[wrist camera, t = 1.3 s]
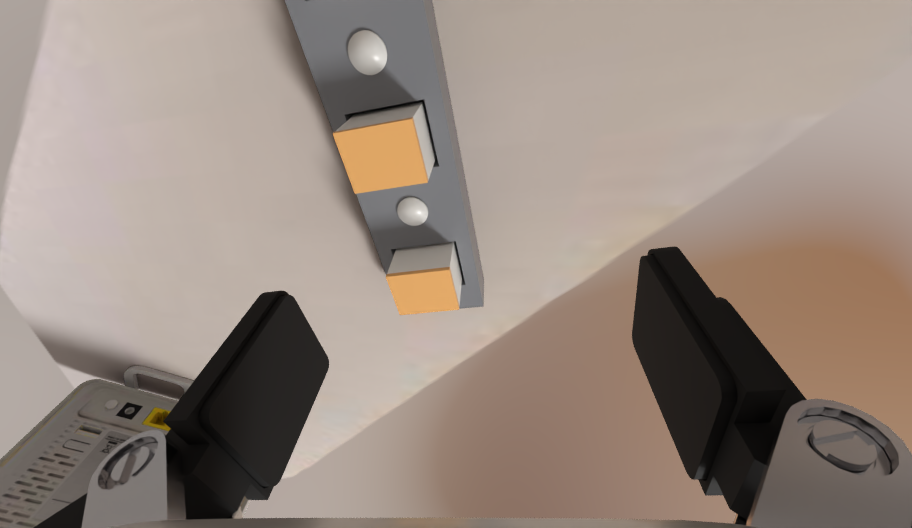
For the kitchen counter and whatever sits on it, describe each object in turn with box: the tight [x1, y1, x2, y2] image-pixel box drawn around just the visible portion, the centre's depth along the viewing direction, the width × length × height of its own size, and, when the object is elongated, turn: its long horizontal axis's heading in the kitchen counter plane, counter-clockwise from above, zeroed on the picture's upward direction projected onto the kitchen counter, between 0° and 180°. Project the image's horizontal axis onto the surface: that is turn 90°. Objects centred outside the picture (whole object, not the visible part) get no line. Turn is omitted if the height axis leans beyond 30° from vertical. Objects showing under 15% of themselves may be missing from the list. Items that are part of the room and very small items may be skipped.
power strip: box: [285, 0, 484, 309], centre depth 28 cm, size 8×32×4 cm, turn 11°
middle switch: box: [333, 102, 436, 194], centre depth 25 cm, size 5×4×4 cm
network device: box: [0, 366, 251, 528], centre depth 46 cm, size 26×9×20 cm, turn 67°
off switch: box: [386, 241, 462, 315], centre depth 31 cm, size 5×4×4 cm
